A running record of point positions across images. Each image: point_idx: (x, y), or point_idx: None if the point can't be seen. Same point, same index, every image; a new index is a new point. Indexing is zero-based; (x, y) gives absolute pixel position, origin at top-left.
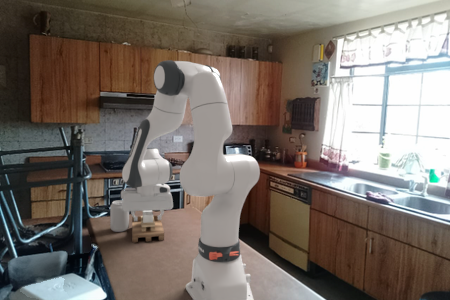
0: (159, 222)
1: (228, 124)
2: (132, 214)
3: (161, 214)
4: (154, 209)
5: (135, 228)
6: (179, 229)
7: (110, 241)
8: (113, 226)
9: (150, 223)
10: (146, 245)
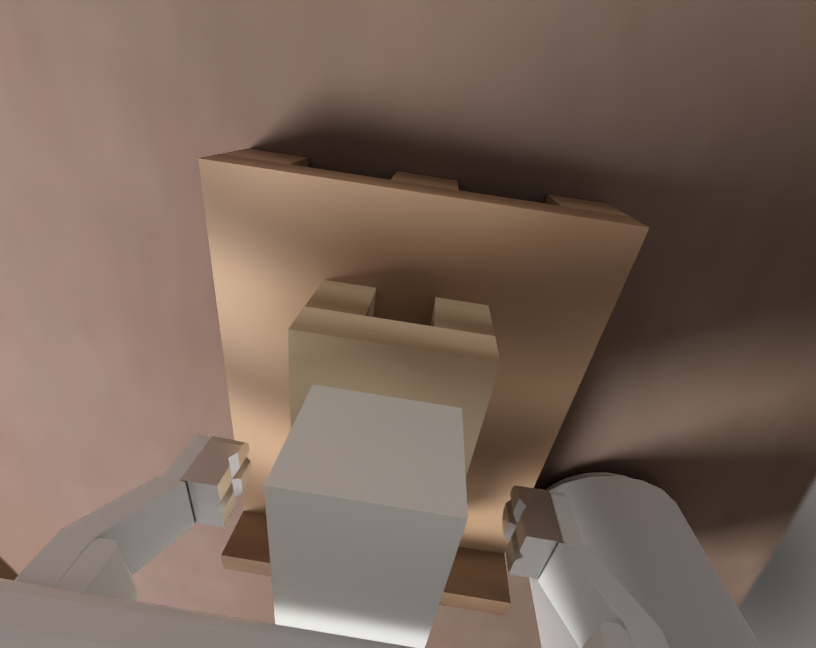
0: (257, 473)
1: None
2: (631, 611)
3: (136, 503)
4: (191, 633)
5: (529, 413)
6: (108, 368)
7: (801, 311)
8: (691, 531)
9: (358, 350)
10: (479, 43)
